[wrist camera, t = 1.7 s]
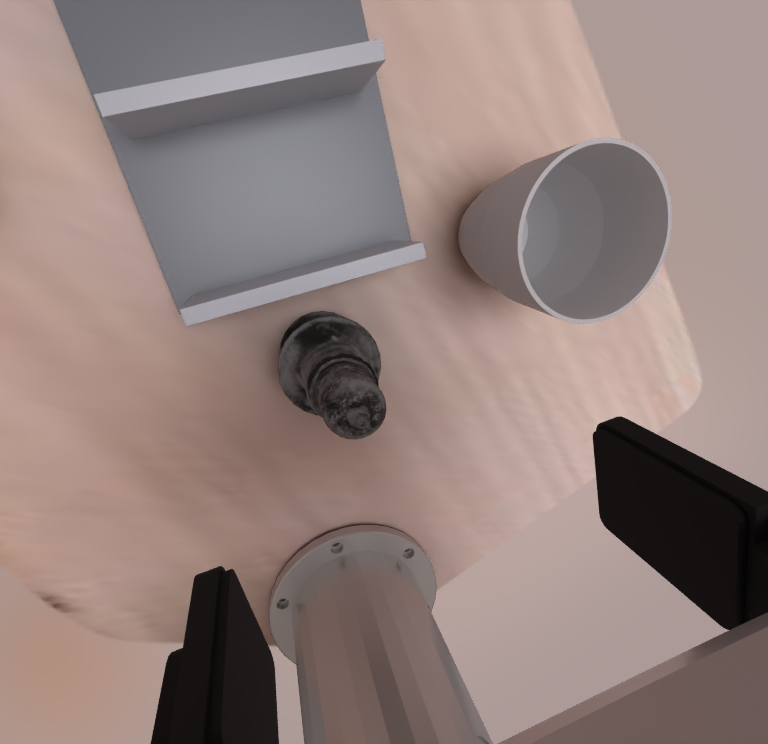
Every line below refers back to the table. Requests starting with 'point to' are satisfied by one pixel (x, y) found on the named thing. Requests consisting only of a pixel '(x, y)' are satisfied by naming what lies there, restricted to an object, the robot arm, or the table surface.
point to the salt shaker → (333, 373)
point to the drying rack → (247, 142)
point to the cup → (572, 230)
